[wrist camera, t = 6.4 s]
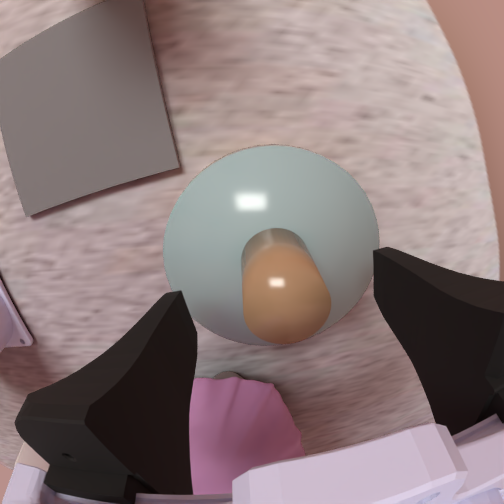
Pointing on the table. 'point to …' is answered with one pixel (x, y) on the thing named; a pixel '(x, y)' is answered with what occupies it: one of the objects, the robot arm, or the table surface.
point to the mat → (84, 107)
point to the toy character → (236, 430)
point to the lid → (271, 245)
